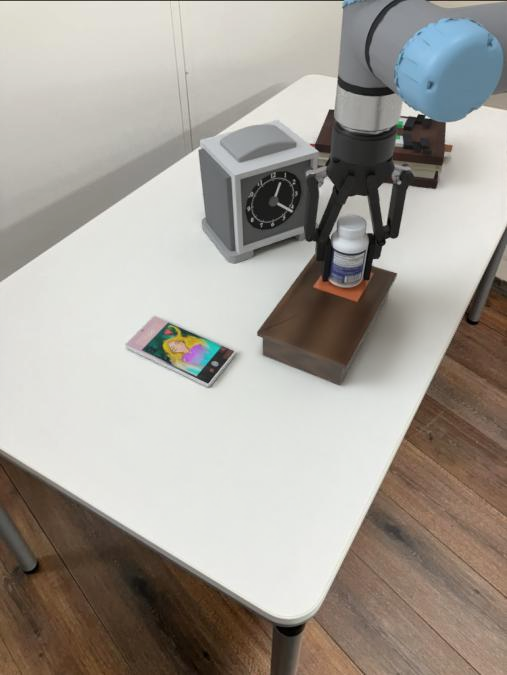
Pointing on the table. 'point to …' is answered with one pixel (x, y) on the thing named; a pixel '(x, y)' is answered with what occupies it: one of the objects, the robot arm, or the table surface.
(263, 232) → the alarm clock
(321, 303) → the wooden box
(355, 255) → the pill bottle
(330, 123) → the decorative book
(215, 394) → the table surface
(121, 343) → the table surface
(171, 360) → the smartphone
